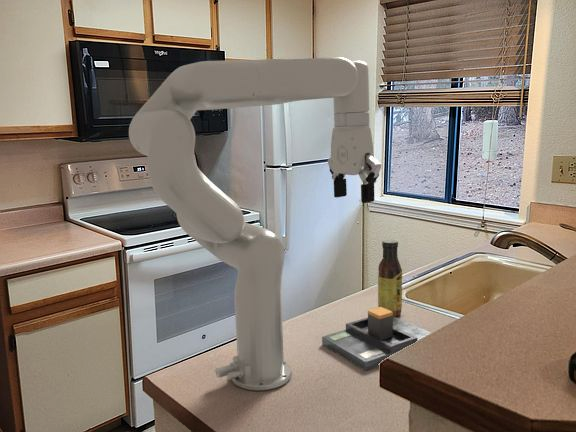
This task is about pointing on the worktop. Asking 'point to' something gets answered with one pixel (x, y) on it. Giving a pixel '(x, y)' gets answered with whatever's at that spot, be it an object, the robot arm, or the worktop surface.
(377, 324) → the toggle
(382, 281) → the sauce bottle
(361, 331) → the panel
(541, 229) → the worktop surface
